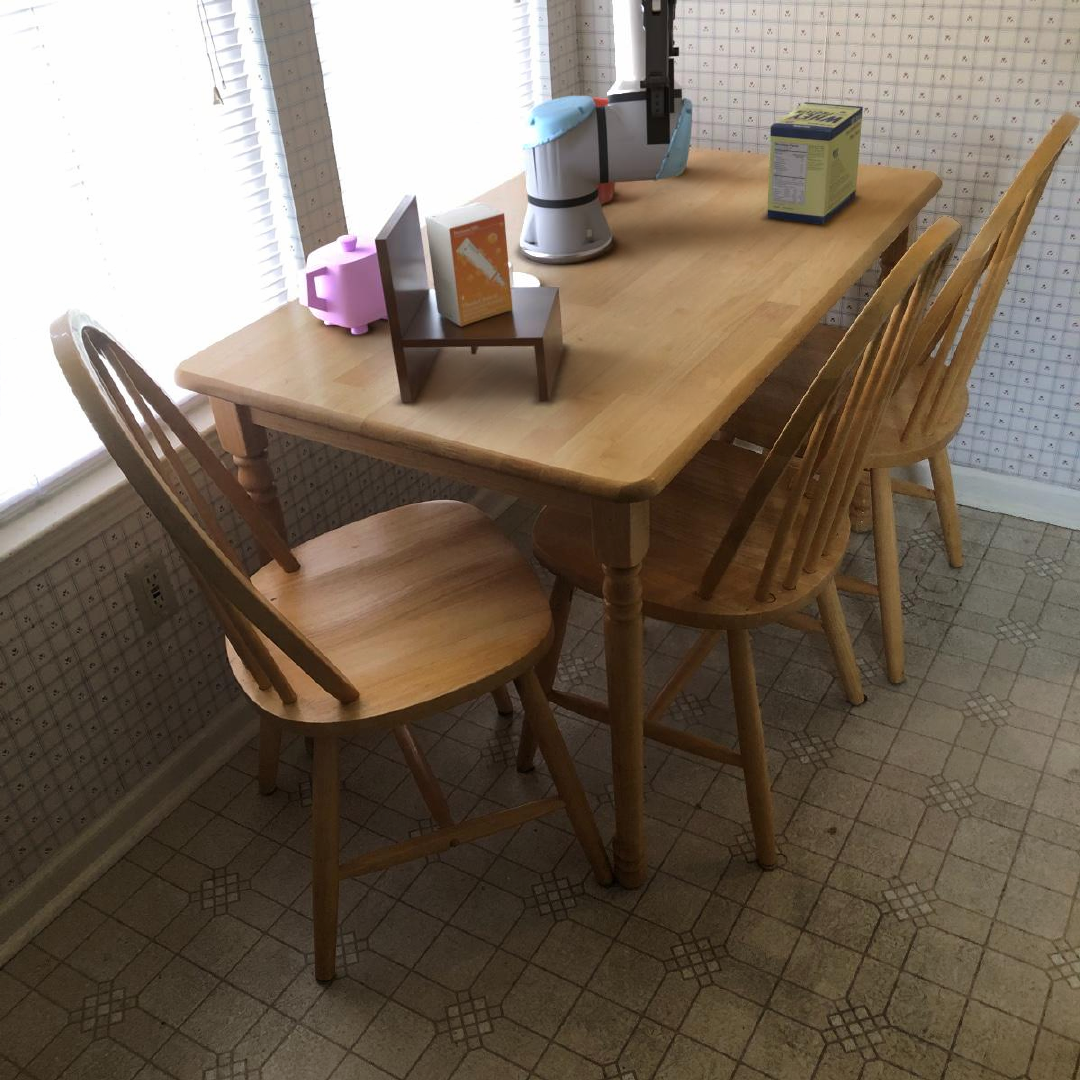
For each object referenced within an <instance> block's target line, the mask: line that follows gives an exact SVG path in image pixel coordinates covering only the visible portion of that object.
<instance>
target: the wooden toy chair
mask: <svg viewBox="0 0 1080 1080" xmlns="http://www.w3.org/2000/svg"><path fill="white" fill-rule="evenodd" d="M374 239H375V245H376V251H377V257H378V263H379V269H380V275H381V281H382V287H383V293H384V299H385V305H386V311H387V317H388V319H387V322H388V328H389V334H390V339H391V347H392V351H393V358H394V364H395V370H396V376H397V383H398V388H399V394H400V398H401V403H413V401H414V399H415V397H416V395H417V393H418V391H419V389H420V387H421V385H422V382H423V380H424V379H425V376H426V374H427V372H428V370H429V368H430V366H431V364H432V362H433V359H434V357H435V355H436V354H437V351H438V349H439V348H470V353H471V355H476V354H477V352H478V350H479V348H495V347H496V348H499V347H500V348H501V347H502V348H503V347H534V348H533V349H534V359H535V371H536V379H537V380H536V382H537V392H538V393H537V394H538V402H539V403H549V401H550V398H551V393H552V391H553V390H552V389H553V386H554V382H555V379H556V374H557V372H558V368H559V364H560V360H561V356H562V352H563V349H564V341H563V326H562V311H561V299H560V297H561V296H560V287H559V286H540V287H513V288H511V298H512V310H511V311H508V312H504V313H501V314H498V315H494V316H491V317H488V318H485V319H482V320H479V321H476V322H473V323H470V324H467V325H464V326H462V327H461V326H459V325H457V324H455V323H454V322H452V321H450V320H449V319H447V318H446V317H444V316H442V315H441V314H439V313H438V309H437V302H436V295H435V288H430V285H429V278H428V271H427V265H426V258H425V257H426V256H425V250H424V244H423V237H422V229H421V221H420V215H419V208H418V202H417V195H415V194H414V195H413V194H412V195H404V197H403V198H402V200H401V201H400V203H399V204H398V206H397V207H396V209H394V212H393V213H392V214H391V216H390V217H389V218H388V220H387V221H386V223H384V226H383V227H382V228H381V230H380V231H379V232H378V234H377V235H376V237H375V238H374Z"/></svg>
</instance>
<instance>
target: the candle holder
mask: <svg viewBox="0 0 1080 1080" xmlns="http://www.w3.org/2000/svg"><path fill="white" fill-rule="evenodd" d="M508 263H509V274H510V286H511V288H513V287H541V282H540V280H539V279H538V278H537V277H535V276H534V275H532V274H528V273H523V272H515V271H514V267H513V263H511V262H510V261H508Z"/></svg>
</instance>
